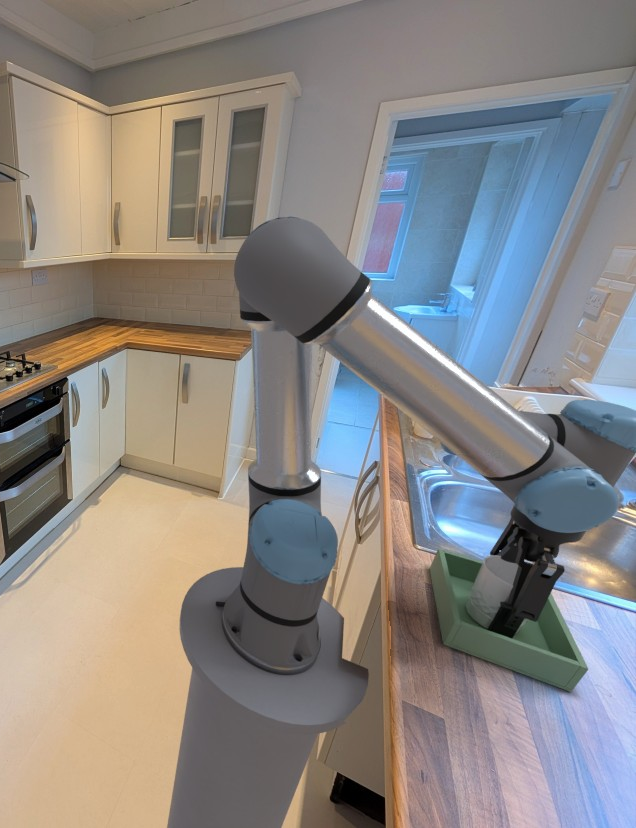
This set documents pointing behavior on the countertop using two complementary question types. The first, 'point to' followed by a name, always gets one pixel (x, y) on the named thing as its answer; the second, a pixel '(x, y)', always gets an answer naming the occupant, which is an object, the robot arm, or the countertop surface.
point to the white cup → (491, 589)
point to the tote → (524, 653)
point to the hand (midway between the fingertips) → (492, 617)
